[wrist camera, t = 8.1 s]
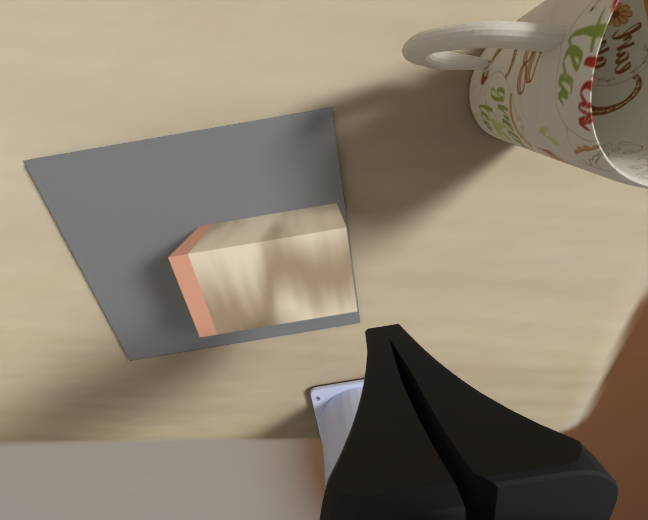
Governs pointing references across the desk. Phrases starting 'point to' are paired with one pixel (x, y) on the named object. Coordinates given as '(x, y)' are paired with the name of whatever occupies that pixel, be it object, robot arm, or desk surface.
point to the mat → (183, 215)
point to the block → (266, 270)
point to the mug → (558, 81)
